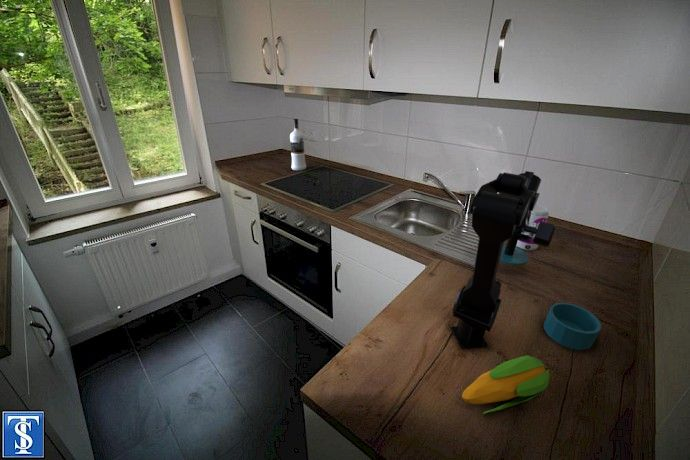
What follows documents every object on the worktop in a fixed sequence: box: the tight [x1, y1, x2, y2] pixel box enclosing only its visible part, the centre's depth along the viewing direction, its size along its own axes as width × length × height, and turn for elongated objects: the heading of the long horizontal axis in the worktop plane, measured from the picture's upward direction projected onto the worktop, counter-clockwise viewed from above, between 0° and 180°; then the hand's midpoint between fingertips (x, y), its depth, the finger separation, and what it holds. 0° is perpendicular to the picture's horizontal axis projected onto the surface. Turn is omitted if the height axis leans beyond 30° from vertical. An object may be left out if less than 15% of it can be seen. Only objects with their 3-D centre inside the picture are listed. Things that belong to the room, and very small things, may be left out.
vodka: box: [289, 118, 307, 172], centre depth 190 cm, size 9×9×30 cm
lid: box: [499, 234, 530, 266], centre depth 96 cm, size 11×11×10 cm
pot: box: [543, 302, 602, 351], centre depth 76 cm, size 10×10×5 cm
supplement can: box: [516, 204, 550, 251], centre depth 111 cm, size 8×8×15 cm
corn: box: [461, 354, 550, 415], centre depth 61 cm, size 7×8×20 cm
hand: (514, 236), depth 96 cm, fingers closed on lid, 3 cm apart
